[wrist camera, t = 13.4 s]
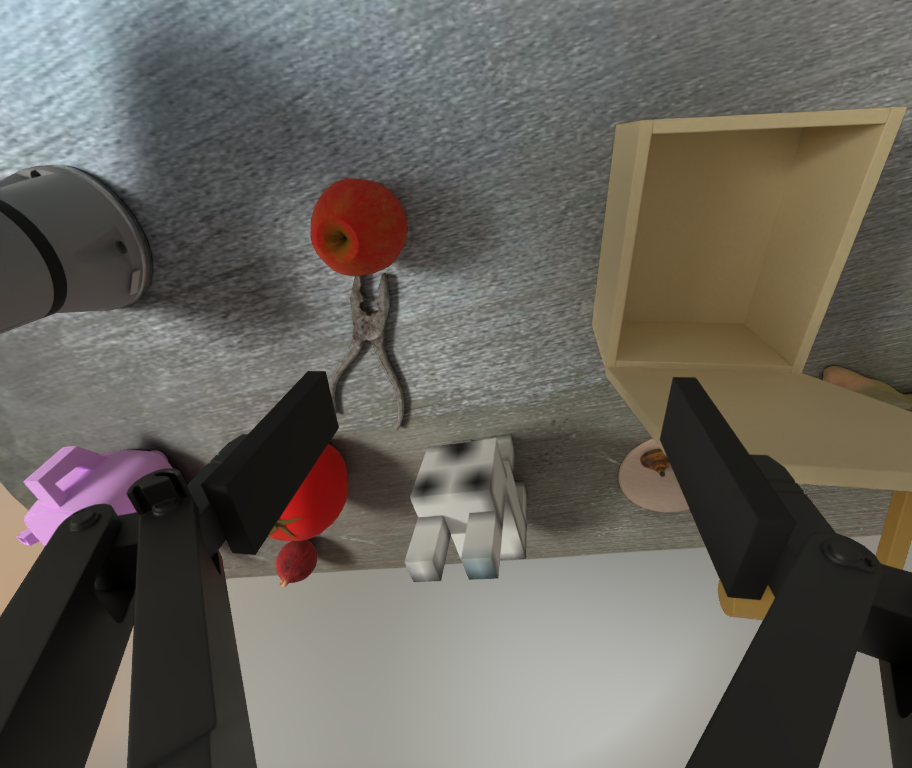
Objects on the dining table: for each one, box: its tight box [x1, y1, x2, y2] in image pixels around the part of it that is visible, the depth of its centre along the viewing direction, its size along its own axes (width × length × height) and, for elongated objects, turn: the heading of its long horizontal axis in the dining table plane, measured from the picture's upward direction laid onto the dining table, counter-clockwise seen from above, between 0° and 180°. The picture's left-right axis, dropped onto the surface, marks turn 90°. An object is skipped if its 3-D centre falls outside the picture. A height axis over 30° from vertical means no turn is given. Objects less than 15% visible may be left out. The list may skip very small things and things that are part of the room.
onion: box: [276, 540, 317, 587], centre depth 65 cm, size 6×6×8 cm
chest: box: [592, 107, 907, 374], centre depth 34 cm, size 18×15×10 cm
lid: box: [605, 367, 912, 620], centre depth 26 cm, size 18×15×9 cm
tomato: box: [268, 444, 348, 541], centre depth 54 cm, size 12×12×13 cm
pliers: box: [329, 273, 404, 429], centre depth 50 cm, size 10×1×20 cm
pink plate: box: [618, 439, 689, 513], centre depth 50 cm, size 12×12×4 cm
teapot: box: [17, 446, 172, 546], centre depth 61 cm, size 19×18×15 cm
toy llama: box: [404, 434, 527, 582], centre depth 46 cm, size 8×18×20 cm, turn 16°
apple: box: [311, 178, 408, 276], centre depth 38 cm, size 8×8×11 cm
